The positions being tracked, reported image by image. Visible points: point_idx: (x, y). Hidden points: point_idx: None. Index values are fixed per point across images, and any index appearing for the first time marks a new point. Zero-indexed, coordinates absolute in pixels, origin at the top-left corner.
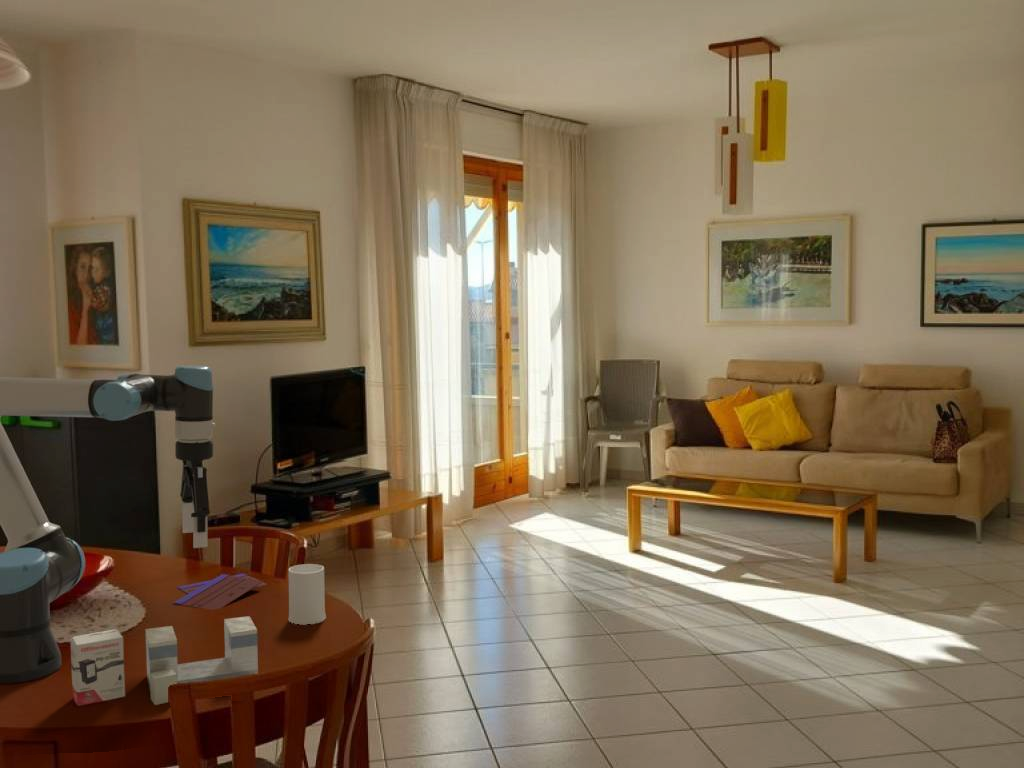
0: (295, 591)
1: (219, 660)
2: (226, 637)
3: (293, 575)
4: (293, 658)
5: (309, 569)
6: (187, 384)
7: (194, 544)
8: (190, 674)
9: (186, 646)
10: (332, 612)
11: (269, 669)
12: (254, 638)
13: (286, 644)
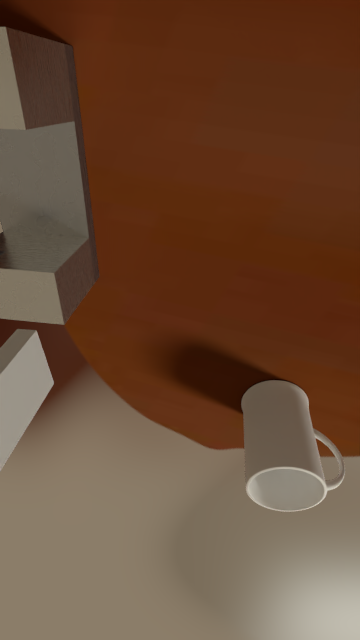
0: (262, 433)
1: (75, 224)
2: (39, 255)
3: (269, 462)
4: (91, 336)
5: (313, 491)
6: None
7: (8, 343)
8: (6, 151)
9: (243, 177)
10: None
11: None
12: None
13: (162, 345)
